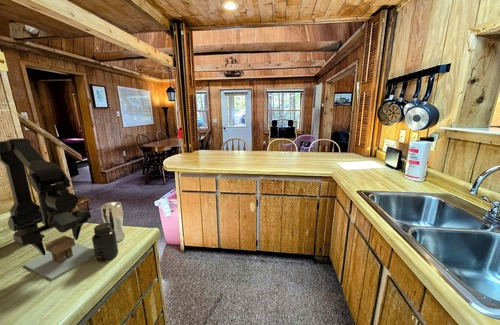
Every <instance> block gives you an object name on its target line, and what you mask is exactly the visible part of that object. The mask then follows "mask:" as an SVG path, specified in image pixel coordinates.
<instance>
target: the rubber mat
mask: <svg viewBox="0 0 500 325" xmlns="http://www.w3.org/2000/svg"><path fill="white" fill-rule="evenodd" d="M71 248H72V253H73V256H72V257H70V258H66V256H64V259H65V260H64V261H63V262H61V263H59V262H57V260H56V261H54V260H53V258H52V253H51V252H49V251H48V252H46V253H45V254H46V255H40V256H38V257H36V258H35V259H32V260H30V261H28V262H26V263H23V267H25V268H27V269H29V270H31V271H32V272H35V273H37V274H38V275H41V276H42V277H45V278H47V279H48V280H50V281H54V280H56V279H58V278H59V277H61V276H62V275H65V274H66V273H68V272H70V271H71V270H73V269H75V268H76V267H78V266H80V265H82V264H83V263H85V262H87V261H88V260H90V259H92V258H94V257H95V253H94V248H91V247H88V246H85V245H82V244H80V243H77V242H75V246H72V247H71Z"/></svg>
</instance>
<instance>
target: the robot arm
mask: <svg viewBox="0 0 500 325" xmlns="http://www.w3.org/2000/svg"><path fill="white" fill-rule="evenodd" d="M0 163H1V164H3V165H4V166H5V169H6V174H7V179H8V183H9V186H10V189H11V193H12V198H13V202H14V203H13V205H12V206H11V208H10V209H9V214H10V216H9V217H8V221H7V225H8V226H7V227H8V229H10V230H11V231H13V232H14V233H13V235H12V237H13V238H12V239H13V241H14V242H15V243H18V244H20V245H22V246H25V245H29V246H31V245H32V246H33V247H34V248H35V249H36V250H37V251H38V252H39V253H40V254H41V256H43V255H46V254H47V253H46V248H45V247H44V244H43V240H44V237H45V235H44V234H43V233H46V232H48V231H50V230H53V229H56V230H57V231H58V232H59V233H62V234H63V233H66V232H68V231H70V230H71V232H72V237H73V239H74V241H78V239H79V236H80V233H81V229H82V226H83V225H84V224H85V223H87V222H88V221H89V219H91V218H92V212H91V211H90V210H87V209H83V208H79V209H76V210H74V209H75V208H76V207H77V206H78V204H79V198H78V196H77V195H76V194H74V193H71V192H70V191H69V189H67V188H70V187H71V186H72V185H71V179H69V177H68V175H67V174H66V172H64V170H63V169H62V168H61V167H60V166H59V165H57V164H56V163H54V162H51V161H47V160H45V159H44V157H43V156H42V155H41V154H40V153H39V151H37V150H36V148H35V147H34V146H33V145H32V142H31V140H30V139H29V138H27V137H26V138H25V137H22V138H20V137H19V138H9V139H6V140H4V141H0ZM26 169H27V170H28V174H27V172H26ZM29 184H30V185H29ZM30 186H31V187H32V189H34V191H35V192H36V193H37V198H38V202H39V204H37V203H36V202H35V201H33V198H32V194H31V190H30V189H31V188H30ZM72 210H73V211H72ZM40 223H41V224H42V226H40V227H39V225H38V224H40Z"/></svg>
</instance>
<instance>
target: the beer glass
mask: <svg viewBox="0 0 500 325" xmlns="http://www.w3.org/2000/svg"><path fill="white" fill-rule="evenodd" d="M100 208H101V219H102V223H110V224H111V228H112V230H114V231H115V233H116V239H117V243H119V242H122V241H123V240H124V239H125V233H124V229H123V225H124V224H123V223H124V212H123V211H124V210H123V205H122V203H121V201H111V202H106V203H103V205H101V207H100Z"/></svg>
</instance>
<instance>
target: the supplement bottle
mask: <svg viewBox="0 0 500 325" xmlns="http://www.w3.org/2000/svg"><path fill="white" fill-rule="evenodd" d="M93 231H94V232H93V235H92V237H91V241H92V242H91V243H92V245H93V246H92V247H93V250H94V253H95V256H94V257H95V260H96V261H97V262H100V263H103V262H104V263H105V262H108V261H110V260H113V259H114V258H116V257H117V256H118V254H119V248H118V242H117V239H116V233H115V231H114V230H112V228H111V224H110V223H103V222H102V223H99V224H97V225H95V226H94V228H93Z"/></svg>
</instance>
